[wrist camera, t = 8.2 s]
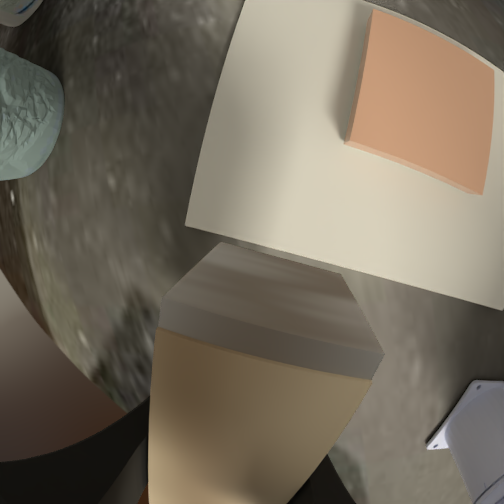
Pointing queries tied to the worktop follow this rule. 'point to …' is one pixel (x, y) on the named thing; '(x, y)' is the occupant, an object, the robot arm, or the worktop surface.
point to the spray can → (17, 11)
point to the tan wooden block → (252, 378)
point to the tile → (422, 103)
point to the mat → (336, 161)
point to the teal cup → (27, 115)
